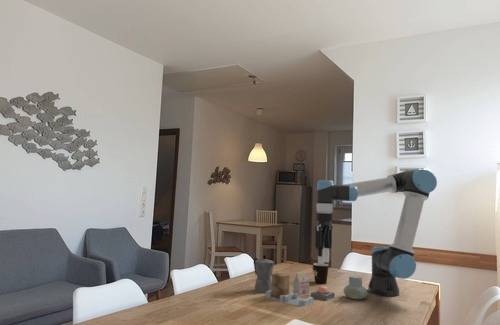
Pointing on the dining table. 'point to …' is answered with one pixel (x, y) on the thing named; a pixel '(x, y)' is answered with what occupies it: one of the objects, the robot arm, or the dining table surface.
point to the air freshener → (355, 288)
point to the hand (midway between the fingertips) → (323, 262)
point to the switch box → (322, 295)
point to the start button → (322, 290)
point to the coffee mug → (320, 273)
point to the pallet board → (291, 299)
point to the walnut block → (279, 285)
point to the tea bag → (301, 284)
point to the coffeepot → (263, 274)
